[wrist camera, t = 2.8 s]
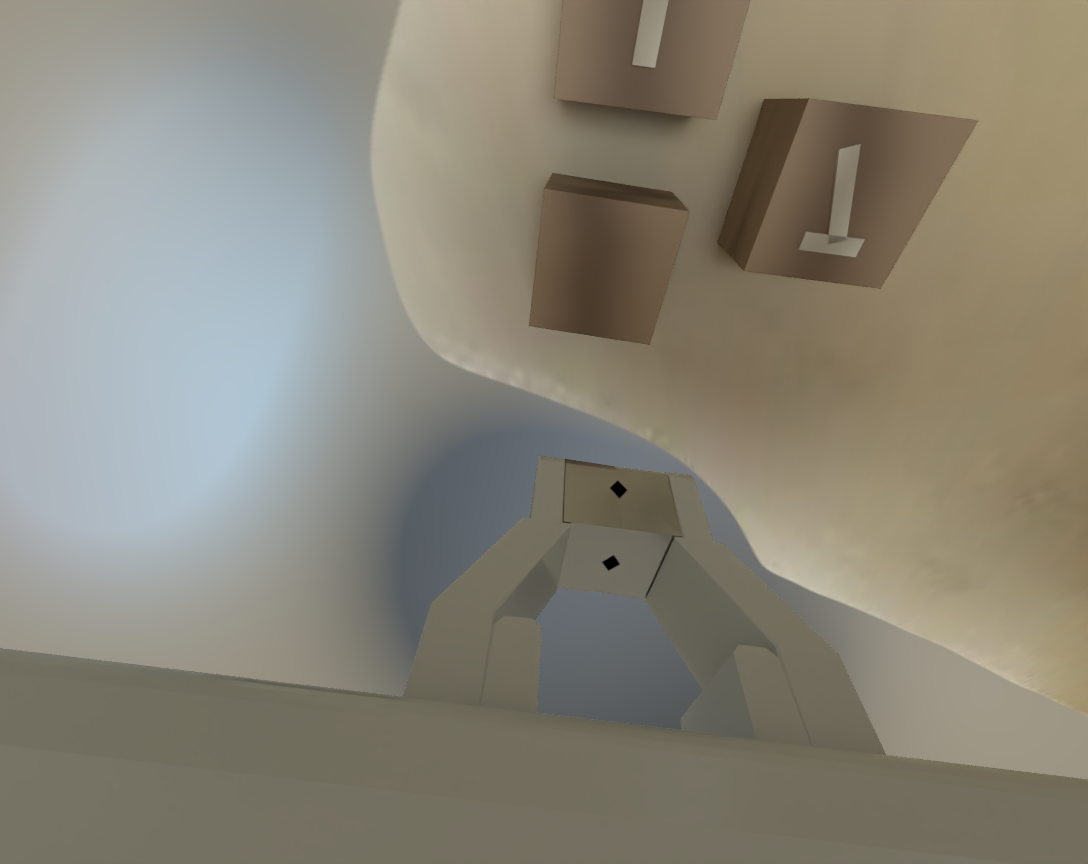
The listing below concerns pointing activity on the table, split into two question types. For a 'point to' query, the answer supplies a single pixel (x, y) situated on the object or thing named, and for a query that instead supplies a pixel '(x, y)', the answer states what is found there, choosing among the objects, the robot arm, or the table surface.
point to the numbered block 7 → (836, 188)
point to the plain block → (604, 257)
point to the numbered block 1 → (649, 53)
